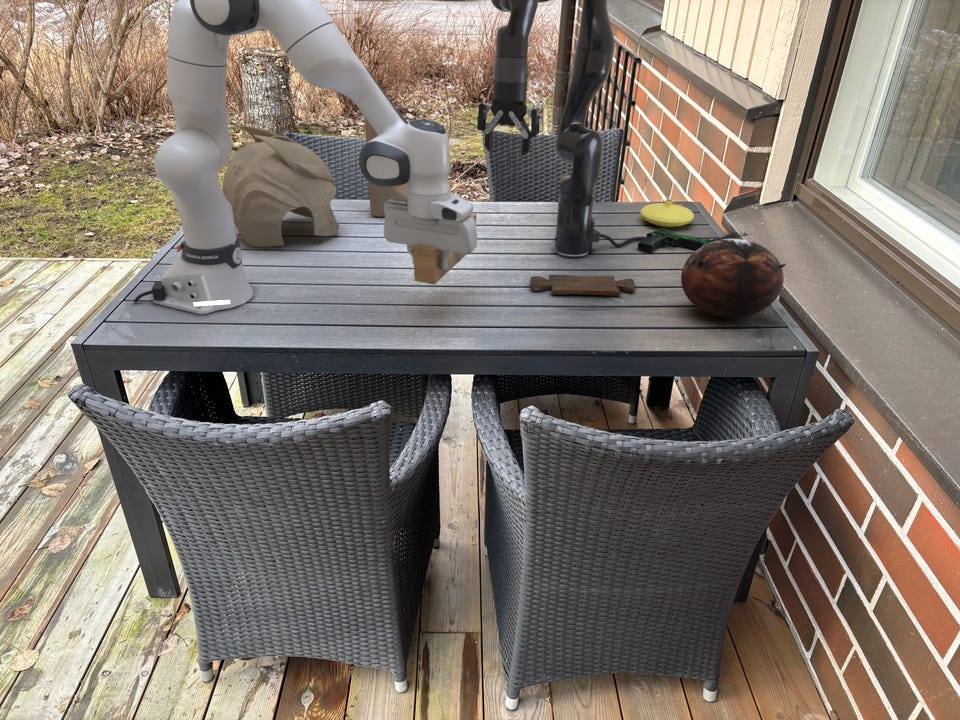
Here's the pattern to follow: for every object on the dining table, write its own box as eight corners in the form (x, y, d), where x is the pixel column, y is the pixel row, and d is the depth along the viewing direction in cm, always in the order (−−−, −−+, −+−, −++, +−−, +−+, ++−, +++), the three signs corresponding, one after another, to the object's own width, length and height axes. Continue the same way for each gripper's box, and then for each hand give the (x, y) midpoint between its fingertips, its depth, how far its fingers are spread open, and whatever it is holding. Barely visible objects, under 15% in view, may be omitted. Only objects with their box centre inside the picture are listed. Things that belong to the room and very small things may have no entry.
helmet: (352, 242, 202) (347, 133, 187) (249, 261, 186) (234, 144, 172) (313, 214, 220) (305, 113, 206) (217, 230, 205) (201, 122, 190)
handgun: (632, 238, 197) (658, 223, 207) (630, 248, 199) (657, 232, 209) (685, 255, 189) (710, 237, 198) (684, 265, 190) (708, 247, 200)
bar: (457, 242, 172) (457, 211, 168) (476, 245, 170) (476, 214, 166) (414, 281, 152) (413, 246, 148) (434, 284, 151) (433, 249, 147)
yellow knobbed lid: (637, 212, 224) (640, 190, 220) (689, 215, 222) (693, 193, 219) (640, 230, 211) (643, 207, 207) (695, 233, 209) (699, 210, 205)
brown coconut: (756, 268, 174) (792, 226, 156) (764, 335, 169) (803, 301, 150) (665, 264, 174) (691, 222, 155) (670, 332, 168) (697, 297, 149)
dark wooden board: (638, 298, 171) (631, 281, 180) (639, 292, 170) (632, 275, 179) (530, 294, 172) (529, 277, 180) (531, 288, 171) (529, 271, 179)
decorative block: (418, 219, 216) (415, 117, 200) (370, 216, 217) (363, 114, 202) (423, 211, 222) (421, 111, 207) (376, 208, 224) (370, 109, 208)
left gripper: (376, 201, 146) (380, 263, 153) (468, 214, 140) (468, 279, 147) (390, 192, 151) (393, 253, 159) (480, 205, 145) (479, 268, 152)
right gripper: (474, 77, 157) (472, 152, 165) (536, 83, 152) (531, 159, 160) (486, 72, 163) (484, 145, 171) (546, 78, 158) (541, 152, 167)
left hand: (430, 266), depth 153 cm, fingers closed on bar, 5 cm apart
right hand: (506, 152), depth 166 cm, fingers open, 8 cm apart
